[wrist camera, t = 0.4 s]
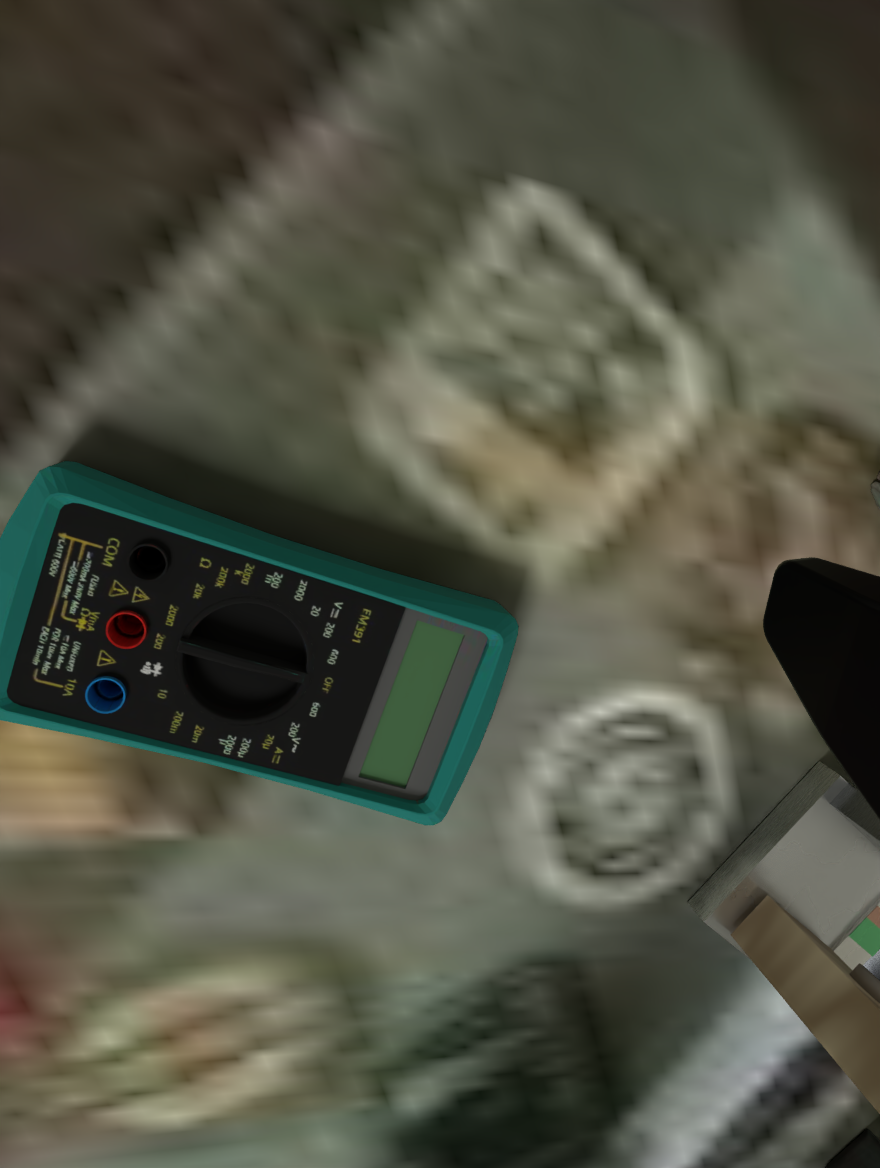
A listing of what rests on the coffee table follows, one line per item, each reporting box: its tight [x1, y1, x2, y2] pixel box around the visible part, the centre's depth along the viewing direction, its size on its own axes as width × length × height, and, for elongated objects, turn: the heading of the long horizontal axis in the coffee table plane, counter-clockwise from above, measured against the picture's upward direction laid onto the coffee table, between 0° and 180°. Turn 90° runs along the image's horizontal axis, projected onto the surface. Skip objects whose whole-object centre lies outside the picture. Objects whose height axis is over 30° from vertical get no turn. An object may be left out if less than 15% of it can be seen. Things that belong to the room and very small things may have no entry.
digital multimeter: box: [0, 461, 519, 825], centre depth 24 cm, size 7×15×3 cm, turn 69°
